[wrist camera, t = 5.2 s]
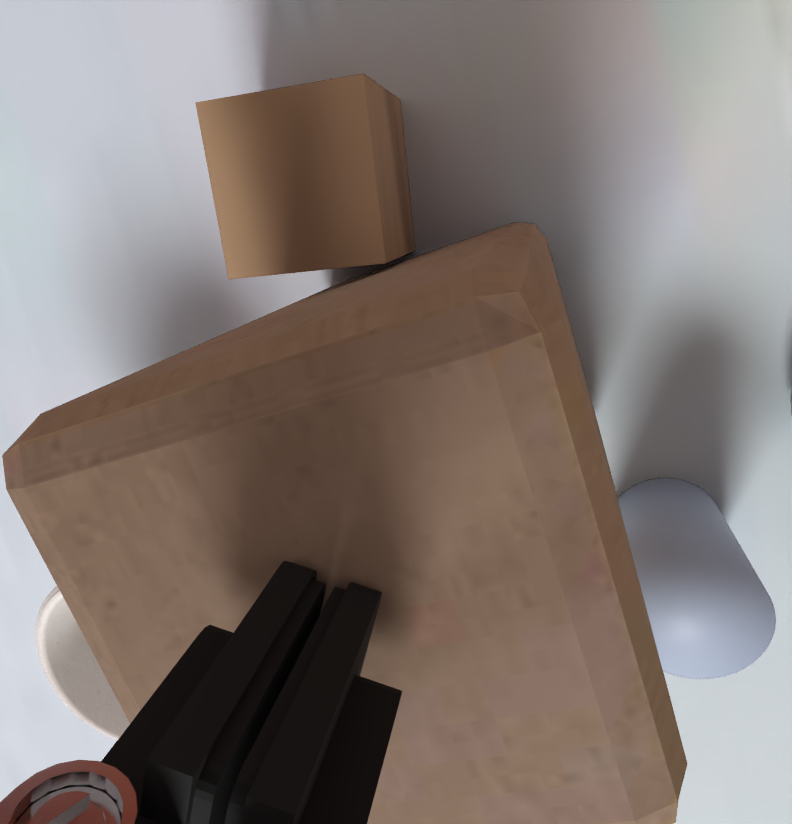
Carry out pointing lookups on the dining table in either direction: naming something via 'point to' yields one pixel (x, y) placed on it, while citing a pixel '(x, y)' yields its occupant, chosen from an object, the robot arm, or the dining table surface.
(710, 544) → the bluegrey post
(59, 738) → the dining table surface
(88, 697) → the dixie cup
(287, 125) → the walnut cube
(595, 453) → the block
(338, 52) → the dining table surface
